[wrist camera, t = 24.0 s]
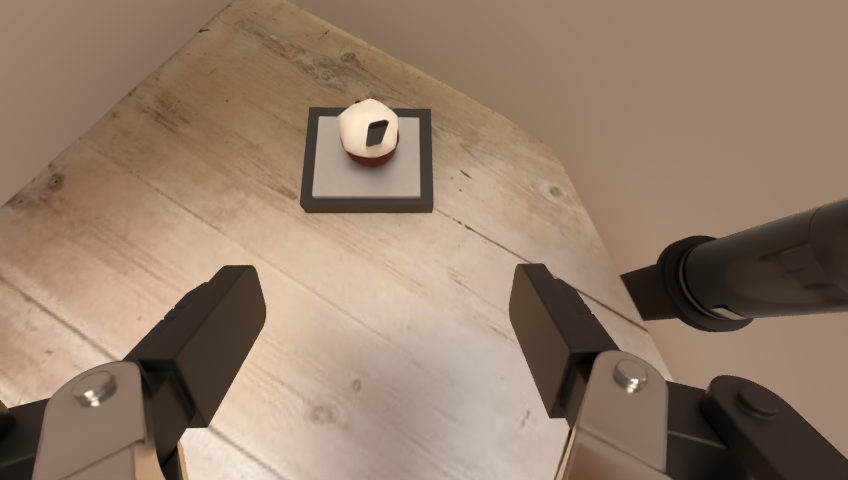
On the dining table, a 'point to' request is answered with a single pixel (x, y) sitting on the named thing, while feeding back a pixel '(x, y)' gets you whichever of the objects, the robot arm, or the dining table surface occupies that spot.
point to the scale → (367, 168)
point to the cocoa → (369, 132)
